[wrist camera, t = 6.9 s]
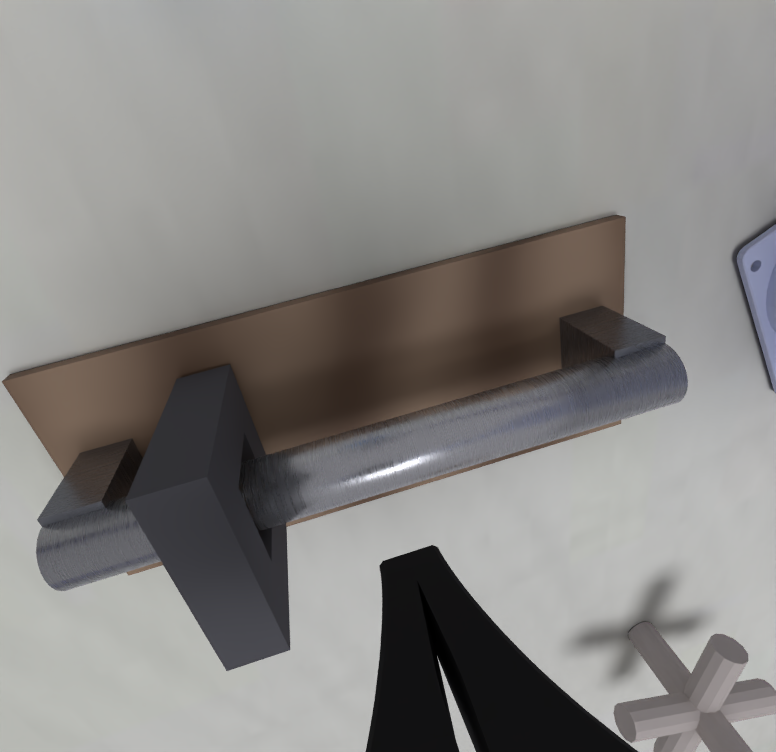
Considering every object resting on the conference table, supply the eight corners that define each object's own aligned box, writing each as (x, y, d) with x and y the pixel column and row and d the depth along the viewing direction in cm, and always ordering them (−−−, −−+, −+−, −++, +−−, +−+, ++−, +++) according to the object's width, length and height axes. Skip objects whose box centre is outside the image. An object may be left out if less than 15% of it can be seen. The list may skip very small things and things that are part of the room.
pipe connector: (677, 669, 36) (807, 839, 27) (557, 689, 34) (657, 881, 25) (728, 569, 32) (901, 730, 23) (595, 584, 30) (731, 769, 21)
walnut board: (616, 214, 20) (625, 216, 19) (613, 417, 24) (621, 423, 24) (10, 374, 18) (1, 381, 17) (132, 565, 22) (128, 575, 22)
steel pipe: (602, 305, 21) (693, 349, 16) (602, 366, 22) (686, 423, 18) (79, 452, 19) (17, 550, 14) (115, 510, 20) (68, 615, 16)
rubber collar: (230, 364, 18) (207, 477, 12) (285, 503, 21) (289, 650, 15) (176, 378, 18) (124, 500, 12) (240, 517, 21) (226, 671, 15)
